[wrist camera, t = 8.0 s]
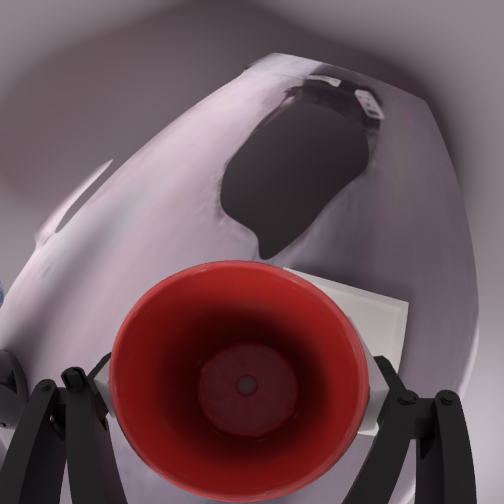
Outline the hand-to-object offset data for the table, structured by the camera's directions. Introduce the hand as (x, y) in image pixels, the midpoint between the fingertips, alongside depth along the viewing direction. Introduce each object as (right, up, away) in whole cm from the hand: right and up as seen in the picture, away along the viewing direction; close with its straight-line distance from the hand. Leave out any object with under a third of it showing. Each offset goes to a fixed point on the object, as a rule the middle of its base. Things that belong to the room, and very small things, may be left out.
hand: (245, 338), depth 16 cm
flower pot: (0, -5, +2) cm, 5 cm away
